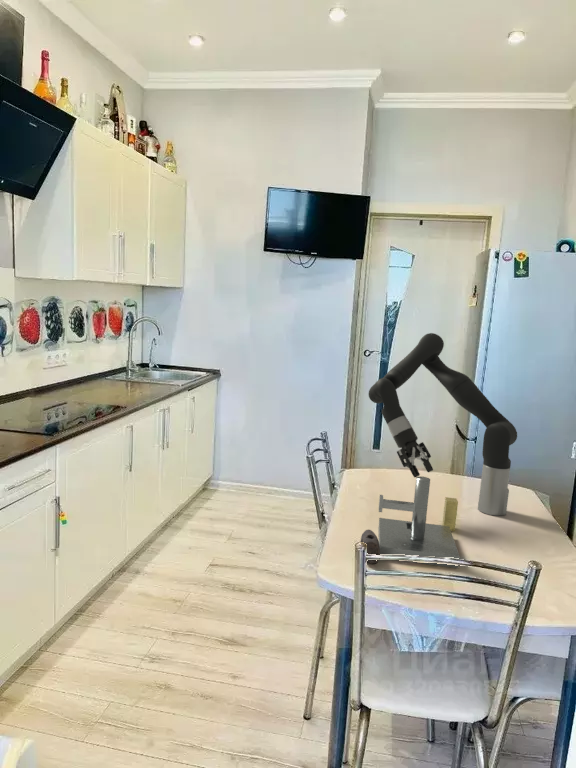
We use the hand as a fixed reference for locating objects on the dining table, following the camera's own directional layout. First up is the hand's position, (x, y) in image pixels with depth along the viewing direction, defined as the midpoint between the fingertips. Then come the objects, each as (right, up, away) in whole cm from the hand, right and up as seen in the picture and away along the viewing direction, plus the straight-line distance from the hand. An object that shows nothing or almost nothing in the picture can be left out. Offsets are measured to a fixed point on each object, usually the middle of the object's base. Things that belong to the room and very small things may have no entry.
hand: (424, 473), depth 188 cm
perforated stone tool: (-23, -19, -30) cm, 42 cm away
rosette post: (-8, -18, -22) cm, 30 cm away
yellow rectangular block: (+7, -17, -6) cm, 19 cm away
